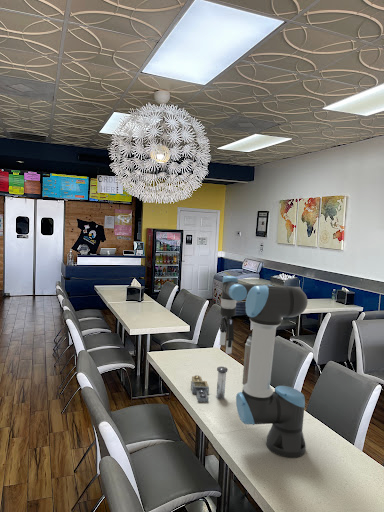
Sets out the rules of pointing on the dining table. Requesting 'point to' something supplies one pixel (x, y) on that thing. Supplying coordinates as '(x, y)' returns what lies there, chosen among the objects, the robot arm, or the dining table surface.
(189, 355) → the dining table surface
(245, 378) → the thermos bottle
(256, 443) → the dining table surface
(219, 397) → the pin
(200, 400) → the chain ends
